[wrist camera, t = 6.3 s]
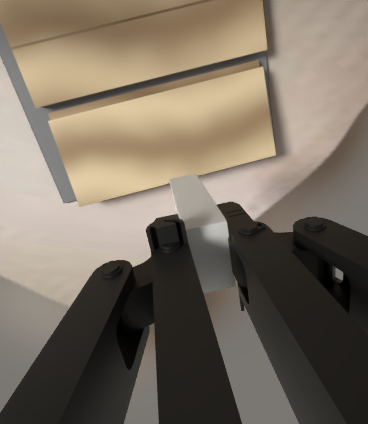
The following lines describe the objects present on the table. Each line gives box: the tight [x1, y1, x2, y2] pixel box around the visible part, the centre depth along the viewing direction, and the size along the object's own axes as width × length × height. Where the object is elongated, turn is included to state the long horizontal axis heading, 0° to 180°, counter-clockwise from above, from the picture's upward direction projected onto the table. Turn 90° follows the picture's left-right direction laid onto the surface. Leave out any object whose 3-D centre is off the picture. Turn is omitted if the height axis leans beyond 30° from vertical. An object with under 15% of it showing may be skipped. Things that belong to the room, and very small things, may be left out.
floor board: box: [0, 0, 267, 108], centre depth 22 cm, size 8×18×1 cm, turn 103°
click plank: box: [48, 60, 276, 207], centre depth 24 cm, size 8×17×1 cm, turn 103°
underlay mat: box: [0, 23, 275, 203], centre depth 24 cm, size 17×20×1 cm
